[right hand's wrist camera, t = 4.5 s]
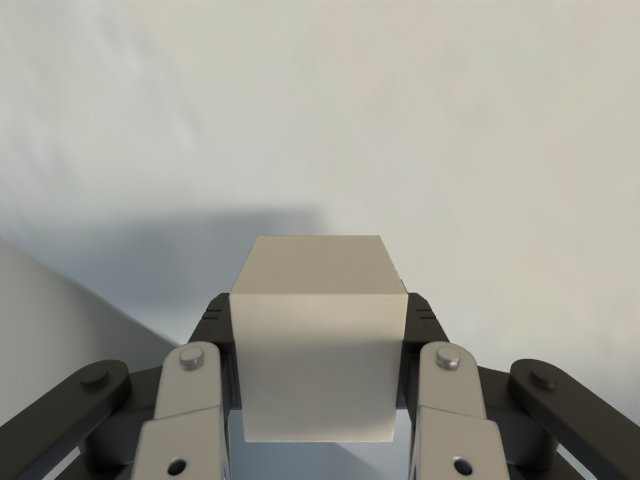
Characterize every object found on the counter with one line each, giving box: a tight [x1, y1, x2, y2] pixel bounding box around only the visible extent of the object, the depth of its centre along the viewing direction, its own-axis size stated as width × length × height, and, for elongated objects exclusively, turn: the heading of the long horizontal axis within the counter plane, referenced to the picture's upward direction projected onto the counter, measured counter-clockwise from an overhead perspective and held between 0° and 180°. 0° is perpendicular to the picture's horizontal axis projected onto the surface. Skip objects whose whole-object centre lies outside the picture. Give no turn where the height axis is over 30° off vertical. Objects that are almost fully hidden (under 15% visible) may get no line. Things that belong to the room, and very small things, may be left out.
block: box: [229, 236, 408, 442], centre depth 11 cm, size 4×5×4 cm
